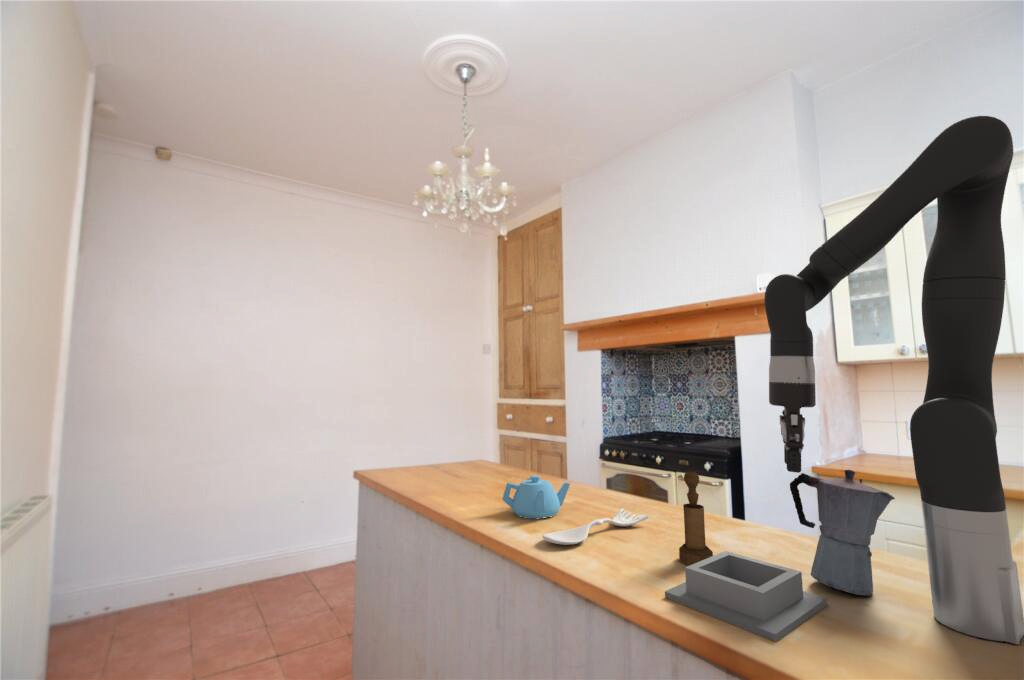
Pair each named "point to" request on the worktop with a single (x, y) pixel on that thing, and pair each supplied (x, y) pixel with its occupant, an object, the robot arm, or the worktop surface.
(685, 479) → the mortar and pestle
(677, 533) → the worktop surface
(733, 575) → the socket board
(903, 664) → the worktop surface
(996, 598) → the robot arm
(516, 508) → the teapot
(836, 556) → the moka pot
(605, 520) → the white spork utensil
